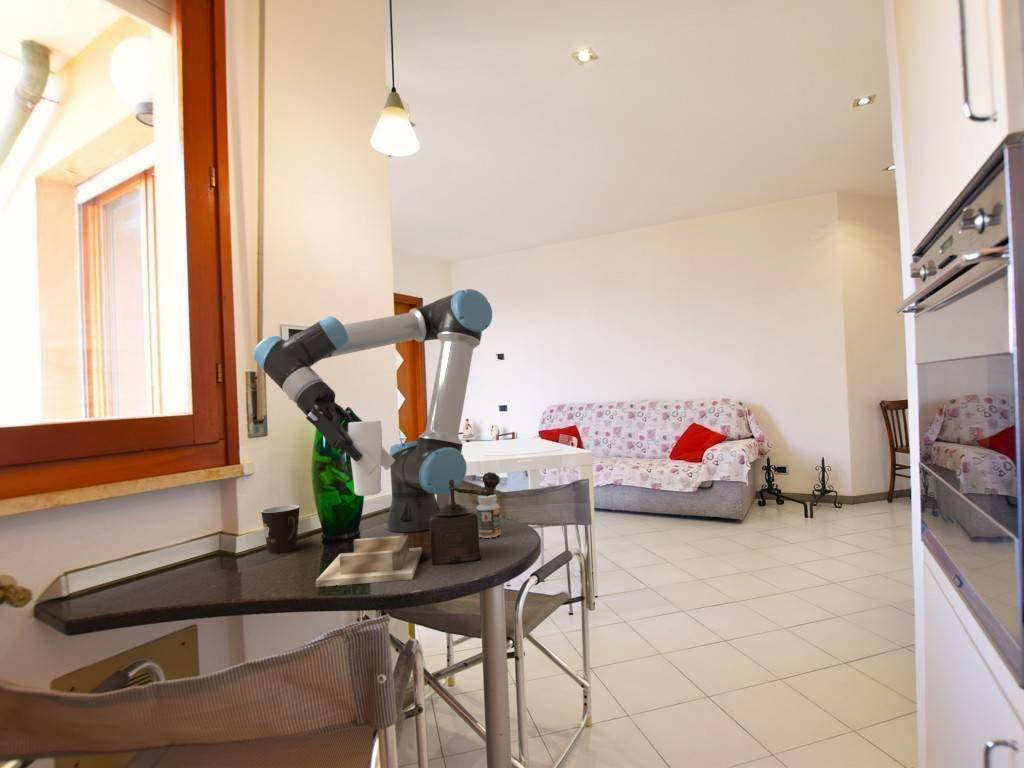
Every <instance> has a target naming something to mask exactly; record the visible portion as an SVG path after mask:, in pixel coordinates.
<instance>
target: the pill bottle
mask: <svg viewBox="0 0 1024 768" xmlns="http://www.w3.org/2000/svg"><path fill="white" fill-rule="evenodd" d="M497 501H498V497H497V494H496V493H495V494H494V495H490V496H488V497H487V496H482V495H478V496H477V502H478V505H477V506H476V508H475V509H476V511H477V515H478V530H479V536H480V537H493V536H497V535H500V534H501V535H502V528H501V527H502V525H501V510H500V508H501V507H500V504H499V503H497ZM501 535H500V536H501ZM480 537H479V538H480Z"/></svg>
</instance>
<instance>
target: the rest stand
mask: <svg viewBox="0 0 1024 768" xmlns="http://www.w3.org/2000/svg"><path fill="white" fill-rule="evenodd" d="M409 545H410V544H409V535H405V534H404V535H394V536H381V537H369V538H368V537H367V538H356V539H354V540H353V552H344V553H339V554H338V556H337V557H335V559H334V560H333V561H332V562H331V563H330V564H329V565H328V566H327V568H325V570H323V572H322V573H321V574H320V575H319V576H318V577H317V578H316V580H315V588H322V587H323V588H324V586H325V587H334V586H336V585H337V586H347V585H358V584H371V583H382V582H395V581H397V582H398V581H408V580H414V575H415V573H416V570H417V567H418V565H419V561H420V559H421V556H422V553H423V550H422V549H423V548H422V547H421V546H419V547H410V546H409Z"/></svg>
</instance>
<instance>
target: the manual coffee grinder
mask: <svg viewBox="0 0 1024 768" xmlns="http://www.w3.org/2000/svg"><path fill="white" fill-rule="evenodd" d="M500 482H501V479H500V476H499V475H498V474H497V473H495V472H492V471H491V472H486V473H484V474H483V476H482V483H483V484H484V486H483V487H484V488H483V490H482V491H480V490H476V489H468V488H467V489H466V488H459V487H458V488H455V486H454V483H455V481H454V480H452V479H451V480H450V481H449V485H450V486H449V490H450V493H449V495H450V497H449V498H450V502H449V504H446V505H444V506H443V507H440V510H435V511H431V513H430V519H429V523H430V529H429V534H430V549H431V551H430V552H431V553H430V554H431V557H430V559H431V560H430V563H431V565H432V566H438V565H439V564H441V565H450V564H449V563H452V564H460V563H464V562H473V561H478V560H481V559H482V558H481V557H482V556H481V555H482V554H481V547H480V546H481V545H480V537H479V530H478V515H477V511H476V508H475V507H467V506H466V505H464V504H460V503H456V498H455V492H456V493H460V494H461V493H463V494H469V495H470V494H471V495H478V496H480V495H482V496H487V497H488V496H490V495H494V494H495V495H496V491H495V490H496V487H497V486H498V485H499V484H500ZM459 562H460V563H459ZM439 566H440V565H439Z"/></svg>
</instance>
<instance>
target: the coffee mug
mask: <svg viewBox="0 0 1024 768" xmlns="http://www.w3.org/2000/svg"><path fill="white" fill-rule="evenodd" d="M300 508H301V507H300V505H297V504H287V505H286V504H285V505H284V504H283V505H277V506H270V507H267V508H264V509H261V510H260V513H261V519H262V524H263V525H262V526H263V530H264V536H265V542H266V543H265V544H266V548H267V553H268V554H269V555H270V554H271V555H275V554H276V555H279V554H285V553H289V552H293V551H295V550H296V549H297V548H298V547H297V546H298V533H299V522H300V521H299V519H300Z"/></svg>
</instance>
